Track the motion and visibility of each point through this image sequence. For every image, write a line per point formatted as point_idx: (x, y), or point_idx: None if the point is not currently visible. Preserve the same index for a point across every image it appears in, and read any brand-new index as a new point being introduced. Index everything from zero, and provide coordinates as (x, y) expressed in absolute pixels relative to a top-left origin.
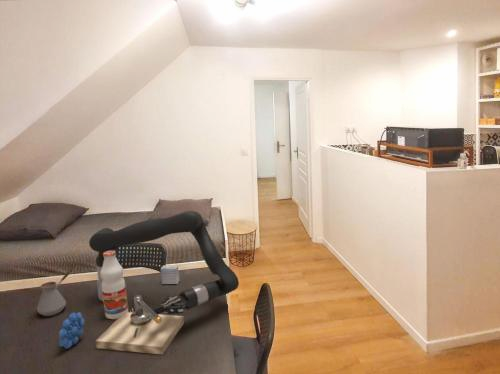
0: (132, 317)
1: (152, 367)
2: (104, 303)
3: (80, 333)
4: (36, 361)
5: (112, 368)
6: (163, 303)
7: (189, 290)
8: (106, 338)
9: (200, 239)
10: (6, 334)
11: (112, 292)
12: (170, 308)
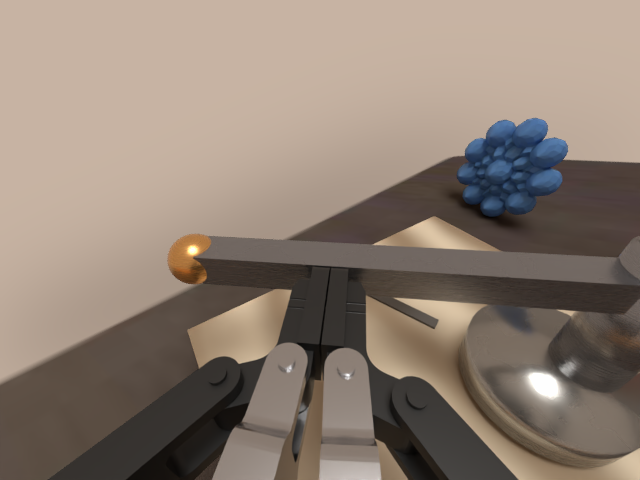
0: (523, 308)
1: (186, 296)
2: None
3: (507, 203)
4: (450, 174)
5: (297, 236)
6: (364, 384)
7: None
8: (427, 233)
9: None
10: (609, 162)
11: None
12: (181, 387)
